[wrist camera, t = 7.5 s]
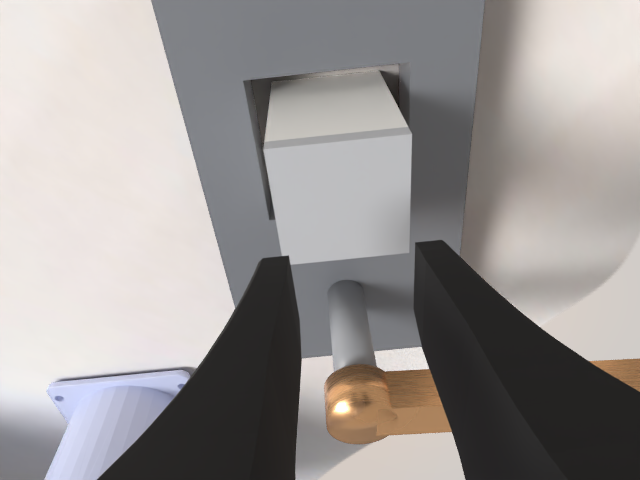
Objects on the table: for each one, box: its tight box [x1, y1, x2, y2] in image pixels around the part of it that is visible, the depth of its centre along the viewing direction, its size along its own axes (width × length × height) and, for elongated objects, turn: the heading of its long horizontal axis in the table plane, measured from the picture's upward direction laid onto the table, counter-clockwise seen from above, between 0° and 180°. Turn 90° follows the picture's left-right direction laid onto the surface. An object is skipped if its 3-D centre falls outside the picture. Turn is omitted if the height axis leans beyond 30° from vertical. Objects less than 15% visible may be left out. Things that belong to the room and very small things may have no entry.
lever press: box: [151, 0, 485, 372], centre depth 17 cm, size 18×10×7 cm, turn 6°
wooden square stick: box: [324, 359, 640, 444], centre depth 17 cm, size 14×2×2 cm, turn 91°
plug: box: [263, 71, 412, 265], centre depth 16 cm, size 4×4×6 cm
